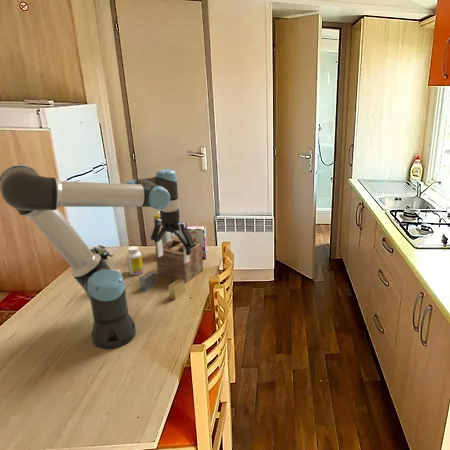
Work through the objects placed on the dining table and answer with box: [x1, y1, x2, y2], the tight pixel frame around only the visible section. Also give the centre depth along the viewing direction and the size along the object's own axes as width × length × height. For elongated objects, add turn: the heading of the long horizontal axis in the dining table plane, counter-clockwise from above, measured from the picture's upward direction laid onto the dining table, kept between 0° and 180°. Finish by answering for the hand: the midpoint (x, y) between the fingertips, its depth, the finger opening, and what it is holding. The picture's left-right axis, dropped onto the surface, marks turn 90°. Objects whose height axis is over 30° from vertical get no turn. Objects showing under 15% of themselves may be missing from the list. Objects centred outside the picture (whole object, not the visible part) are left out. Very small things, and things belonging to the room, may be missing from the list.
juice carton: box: [152, 211, 175, 245], centre depth 193 cm, size 9×8×24 cm
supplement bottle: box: [126, 246, 144, 276], centre depth 176 cm, size 7×7×13 cm
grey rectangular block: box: [139, 270, 158, 292], centre depth 164 cm, size 7×3×6 cm, turn 149°
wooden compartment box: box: [154, 237, 204, 284], centre depth 173 cm, size 14×16×14 cm
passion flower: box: [90, 245, 113, 261], centre depth 188 cm, size 11×11×12 cm
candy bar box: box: [187, 225, 209, 259], centre depth 190 cm, size 11×5×16 cm, turn 80°
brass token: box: [168, 279, 186, 300], centre depth 156 cm, size 7×3×6 cm, turn 150°
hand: (173, 258), depth 152 cm, fingers open, 13 cm apart
